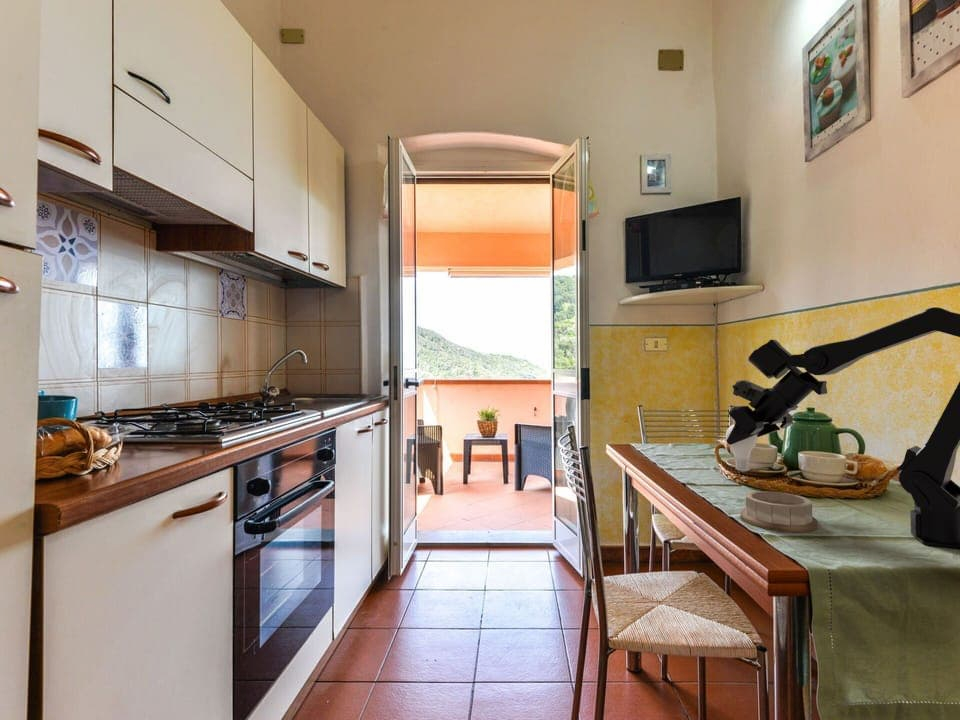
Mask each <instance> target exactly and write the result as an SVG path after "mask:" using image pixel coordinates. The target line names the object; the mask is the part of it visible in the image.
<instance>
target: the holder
mask: <svg viewBox="0 0 960 720" xmlns="http://www.w3.org/2000/svg"><path fill="white" fill-rule="evenodd" d="M740 519H741V520H742V521H743V522H745V523H747V524H748V525H751V526H754V527H758V528H762V529H766V530H771V531H778V532H784V533H810V532H814V531H817V530H818V528H819V520H818V519H817V518H815V517H814V516H813V503H812V501H811V499H809V498H806V497H803V496H802V495H797V494H793V493H789V492H788V493H786V492H781V491H779V492H778V491H769V490H765V491H764V490H761V491H759V490H757V491H751V492H747V493H745V508H742V509H741V510H740Z"/></svg>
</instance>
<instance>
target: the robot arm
mask: <svg viewBox="0 0 960 720" xmlns="http://www.w3.org/2000/svg"><path fill="white" fill-rule="evenodd" d="M938 332H939V333H940V332H941V333H943V334H946V335H947V334H948V335H951V336H954V337H958V338H960V313H957V312H952V311H951V310H948V309H945V308H942V307H929V308H926V309H924V310H923V311H922V312H920V313H918V314H914V315H912V316H909V317H907V318H906V317H905V318H904V319H901V320H899V321H897V322H896V321H895V322H893V323H891V324H888V325H886V326H883V327H879V328H877V329H875V330H873V331H869V332H867V333H864V334H861V335H858V336H856V337H854V338H849V339H847V340H846V339H845V340H841V341H836V342H831V343H825V344H821V345H820V344H819V345H815V346H812V347H810V348H807V349H805V351H804V352H803V353H801V354H794V353H793V354H792V353H790V352H789V351H788V350H787V349H786V348H785V347H783V346H782V344H781V343H780V342H779V341H778V340H777V339H769V340H768V341H767V343H764V344H762V345H760V346H759V347H758V348H757V349H756V348H755V349H754V350H753V351H752V352H751V354H750V355H749V357H748V362H749V363H750V364H752V365H753V366H754V367H755V369H757V370H758V371H759V372H760V373H762V375H764V376H765V377H766V378H767V379H769V380H770V379H772V378H774V379H775V380H778V379H779V380H778V381H777V382H776V383H775V384H774V385H773V386H772V387H766V388H765V387H762V386H760V385H758V384H756V383H753V382H752V381H749V380H745V379H744V380H738V381H736V382H735V384H733V385H732V389H733V392H732V395H734V396H736V397H740V398H742V399H744V400H746V401H749V403H748V405H749V406H748V405H738V406H737V405H736V406H733V407H732V408H731V409H730V410H729V411H728V415H729V417H731V418H732V419H733V420H734V424H735V425H734V427H733V429H732V431H731V433H730V435H729V437H728V439H727V441H726V440H725V441H726V443H727V445H728V446H729V445H731V444H734V443H737V442H739V441H742V440H745V439H747V438H750V437H753V436H755V435H757V439H758V438H760V437H764V436H765V435H769V434H771V433H772V434H773V433H775V432H778V431H780V430H781V429H787V428H788V427H790V425H792V424H793V423H794V421H793V420H794V418H793V416H792V414H791V413H790V412H792V411H796V410H797V409H798V408H799V406H798V405H799V404H800V403H802V401H804V400H805V399H806V398H807V397H808V396H809V395H810V394H812V392H814V393H816V394H817V395H818V396H820V395H821V396H822V395H826V394H828V388H827V383H828V382H827V380H819V379H818V378H816V377H815V376H830V375H835V374H838V373H839V372H840V371H843V370H844V369H846V368H847V369H848V368H849V367H851V366H852V365H854V364H855V363H857V362H858V361H860V360H862V359H864V358H865V357H867V356H871V355H874V354H876V353H879V352H882V351H885V350H889V349H891V348H893V347H894V348H895V347H896V346H900V345H902V344H904V343H908V342H911V341H913V340H917V339H920V338H922V337H925V336H928V335H932V334H934V333H938ZM799 368H802V369H804V370H805V371H802V370H801V369H799ZM750 407H751V408H750ZM777 424H780V426H778V425H777ZM959 447H960V381H959V382H958V384H957V386H956V387H955V389H954V391H953V393H952V394H951V397H950V399H949V401H948V402H947V404H946V406H945V408H944V410H943V412H942V414H941V415H940V418H939V419H938V420H937V423H936V424H935V427H934V428H933V430H932V433H931V434H930V435H929V437H928V440H927V441H926V443H925V444H924V445H923V446H922V447H919V446H918V445H914V446H912V447H909V448H908V449H906V452H905V453H904V454H905V455H904V458H903V461H902V463H901V464H900V465H899V466H898V467H896V470H897V471H899V474H898V482H899V484H900V486H901V487H902V489H903V490H904V491H905V492H906V493H908V494H910V496H911V498H912V500H913V505H914V506H913V507H914V508H913V509H910V534H911V535H913V536H914V537H915V539H917V540H918V541H919V542H921V543H922V544H923V545H927V546H928V545H929V546H934V547H935V546H938V547H945V548H954V549H955V548H956V549H960V486H959V485H958V484H957V483H955V482H954V480H952V476H953V473H954V468H955V463H956V457H957V451H958V449H959Z"/></svg>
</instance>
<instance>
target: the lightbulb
mask: <svg viewBox="0 0 960 720" xmlns="http://www.w3.org/2000/svg"><path fill="white" fill-rule="evenodd" d="M734 425H735V423H733V424H731V425H729V427H728V428H727V430H726V432H725V441H727V439H728V437H729V435H730V433H731V431H732V429H733V427H734ZM757 442H758V438H757V435H755V436H753V437H750V438H747V439H745V440H742V441H739V442H737V443H734V444H731V445H729V444H728V446H729V447H730V449H731V450H732V453H733V456H734V460H735V470H738V472H740V473H746V472H748V471H749V470H750V462H749V461H750V457H751V453H752V450H753V449H754V448H755V447H756V445H757Z"/></svg>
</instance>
